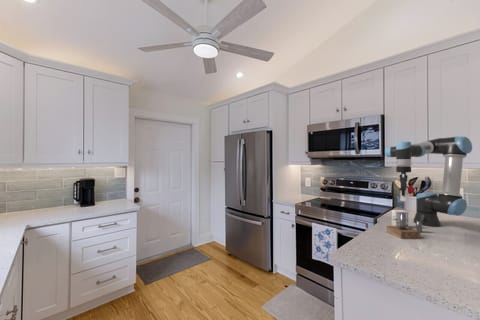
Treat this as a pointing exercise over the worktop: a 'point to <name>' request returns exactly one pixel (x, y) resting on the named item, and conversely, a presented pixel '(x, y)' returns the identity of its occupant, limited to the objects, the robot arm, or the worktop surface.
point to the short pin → (419, 226)
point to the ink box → (398, 217)
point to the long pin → (403, 221)
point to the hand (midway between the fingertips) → (403, 199)
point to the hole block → (403, 232)
